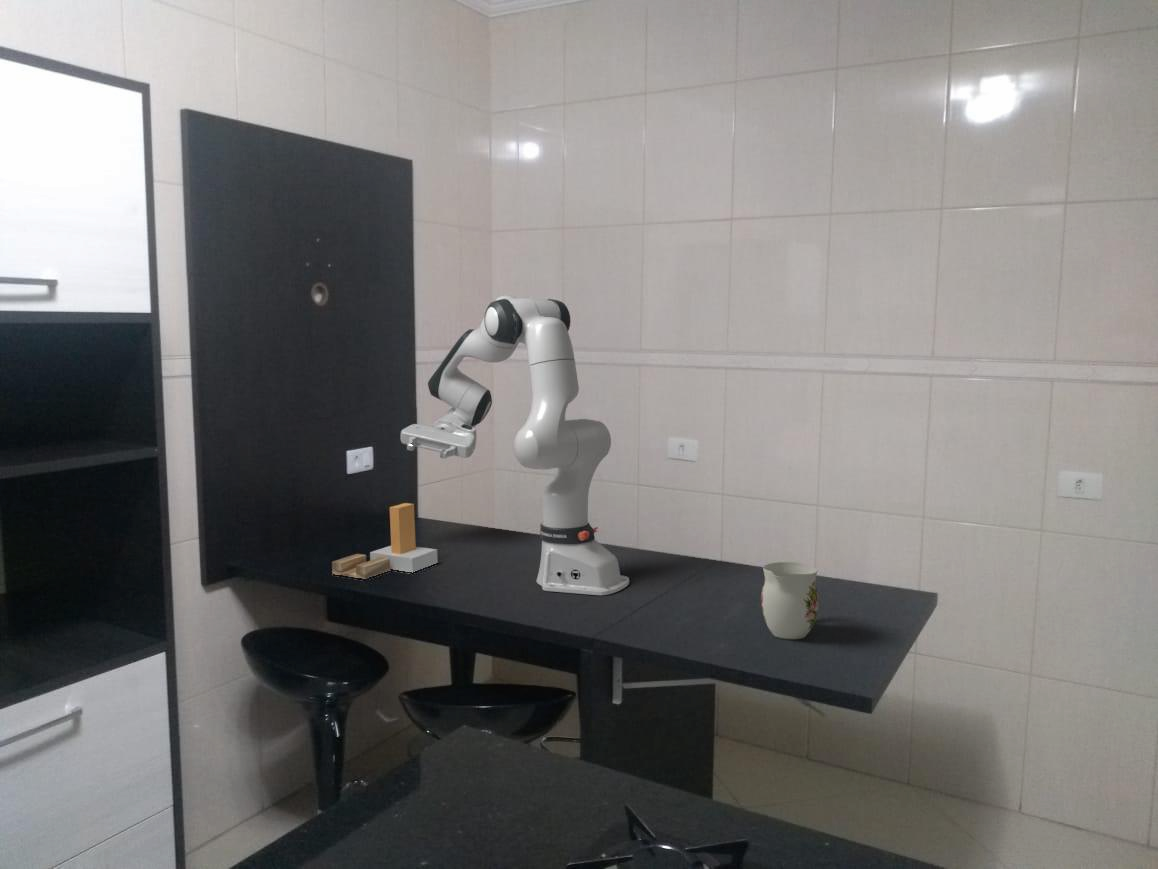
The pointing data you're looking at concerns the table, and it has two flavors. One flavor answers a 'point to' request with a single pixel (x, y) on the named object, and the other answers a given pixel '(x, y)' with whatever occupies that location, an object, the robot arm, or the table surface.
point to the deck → (407, 558)
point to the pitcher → (789, 599)
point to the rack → (360, 566)
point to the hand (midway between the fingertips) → (425, 451)
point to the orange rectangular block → (402, 528)
